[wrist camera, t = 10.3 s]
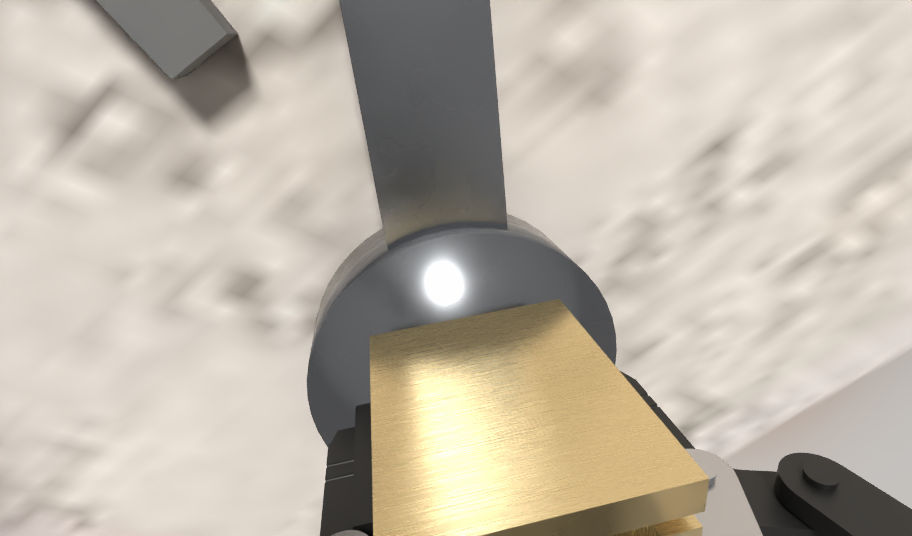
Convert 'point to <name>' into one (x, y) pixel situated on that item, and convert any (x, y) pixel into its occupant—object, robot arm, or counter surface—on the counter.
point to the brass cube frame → (519, 435)
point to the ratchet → (432, 201)
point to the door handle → (173, 30)
